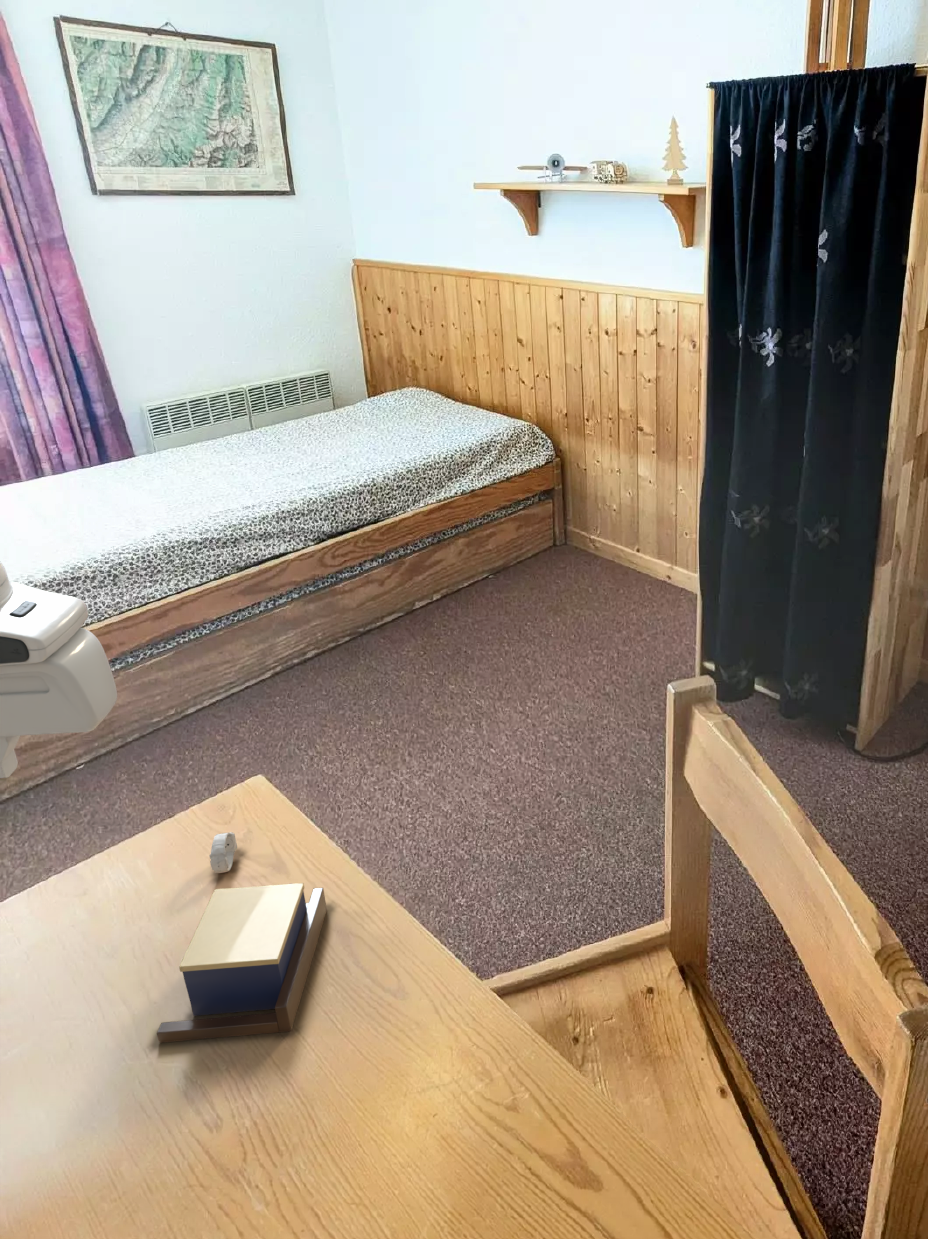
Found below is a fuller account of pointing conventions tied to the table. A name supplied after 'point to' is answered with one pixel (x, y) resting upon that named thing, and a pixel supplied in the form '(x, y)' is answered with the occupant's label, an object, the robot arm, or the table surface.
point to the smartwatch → (223, 852)
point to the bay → (286, 998)
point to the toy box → (243, 948)
